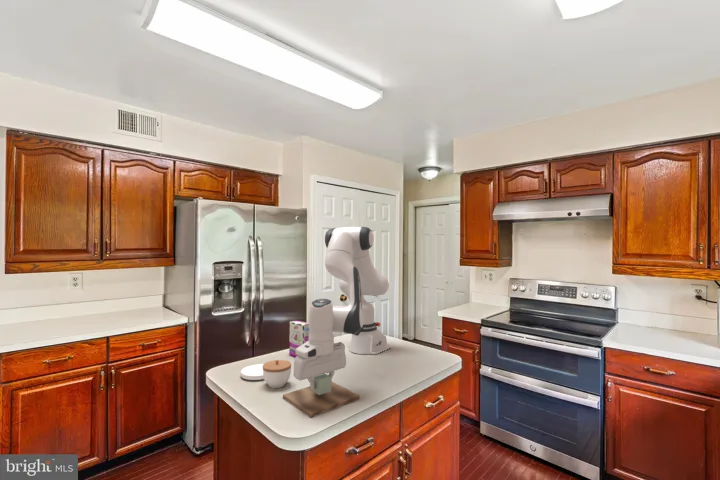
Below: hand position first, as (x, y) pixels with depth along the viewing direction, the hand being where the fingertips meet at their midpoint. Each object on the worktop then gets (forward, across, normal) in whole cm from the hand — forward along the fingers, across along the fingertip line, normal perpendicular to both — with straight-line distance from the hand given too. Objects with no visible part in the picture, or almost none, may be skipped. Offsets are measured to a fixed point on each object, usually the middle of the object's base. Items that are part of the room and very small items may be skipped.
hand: (321, 386), depth 122 cm
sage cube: (+2, 0, 0) cm, 2 cm away
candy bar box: (+5, -18, -44) cm, 48 cm away
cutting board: (+4, 0, 0) cm, 4 cm away
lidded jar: (+5, +6, -21) cm, 22 cm away
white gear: (+5, +7, -35) cm, 36 cm away
